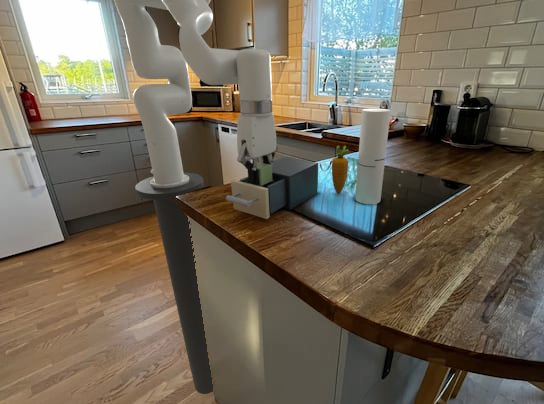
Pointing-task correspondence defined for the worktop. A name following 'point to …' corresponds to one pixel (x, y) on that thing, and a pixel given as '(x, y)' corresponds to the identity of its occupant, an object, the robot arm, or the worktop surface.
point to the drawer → (259, 196)
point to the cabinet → (297, 179)
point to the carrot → (339, 170)
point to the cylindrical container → (372, 154)
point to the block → (264, 173)
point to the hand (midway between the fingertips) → (260, 180)
